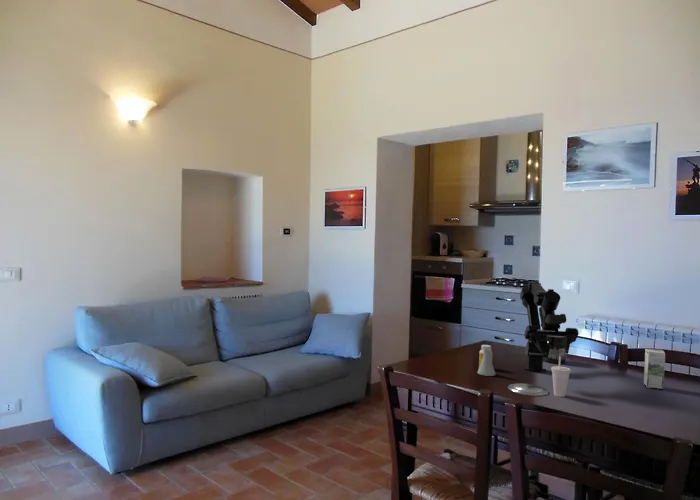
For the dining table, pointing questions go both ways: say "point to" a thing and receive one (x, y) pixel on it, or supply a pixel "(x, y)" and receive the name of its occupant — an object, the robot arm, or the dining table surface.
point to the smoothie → (560, 379)
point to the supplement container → (555, 350)
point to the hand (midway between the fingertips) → (554, 352)
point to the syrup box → (654, 368)
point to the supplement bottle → (483, 353)
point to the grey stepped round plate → (528, 389)
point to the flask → (486, 364)
